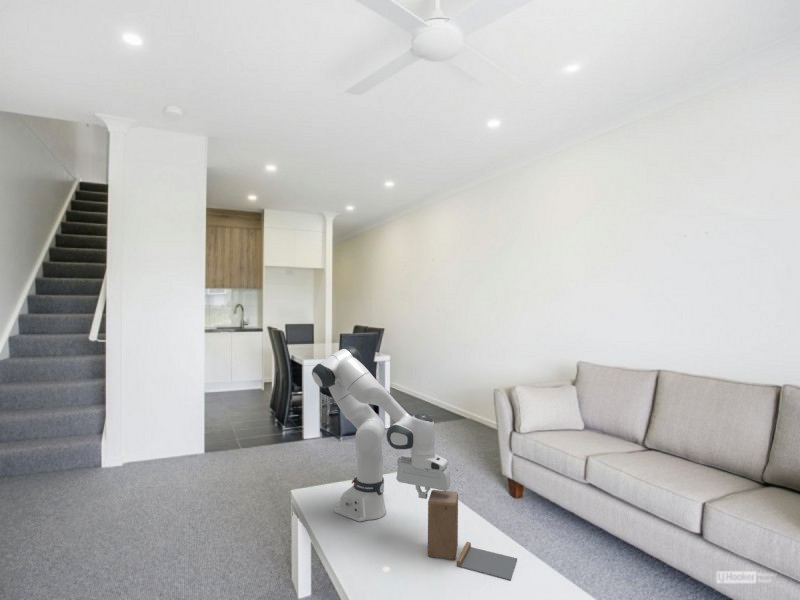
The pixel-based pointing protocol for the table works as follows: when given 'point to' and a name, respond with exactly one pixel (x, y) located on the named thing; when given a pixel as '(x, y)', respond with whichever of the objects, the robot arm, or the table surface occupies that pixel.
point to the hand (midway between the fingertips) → (422, 497)
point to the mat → (486, 562)
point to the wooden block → (443, 524)
